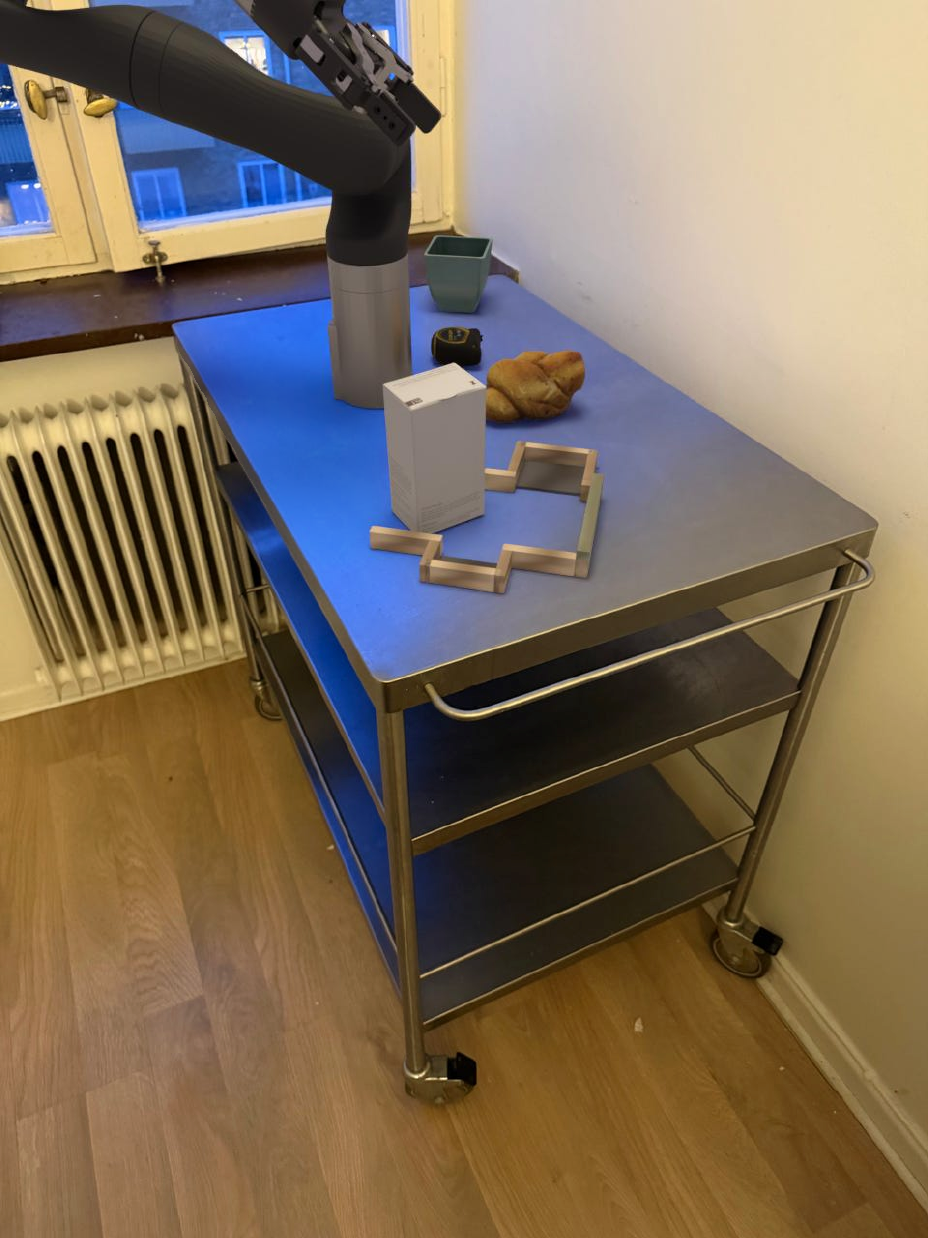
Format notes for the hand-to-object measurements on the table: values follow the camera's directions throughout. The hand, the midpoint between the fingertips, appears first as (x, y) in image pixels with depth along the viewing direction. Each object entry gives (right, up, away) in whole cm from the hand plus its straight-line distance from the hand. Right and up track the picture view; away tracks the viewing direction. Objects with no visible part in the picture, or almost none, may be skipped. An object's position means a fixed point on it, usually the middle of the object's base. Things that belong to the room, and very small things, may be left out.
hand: (422, 131), depth 76 cm
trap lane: (+7, -32, +14) cm, 35 cm away
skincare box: (+1, -32, +14) cm, 35 cm away
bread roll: (+11, -17, +32) cm, 38 cm away
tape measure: (+3, -8, +43) cm, 43 cm away
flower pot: (+3, +5, +57) cm, 57 cm away
